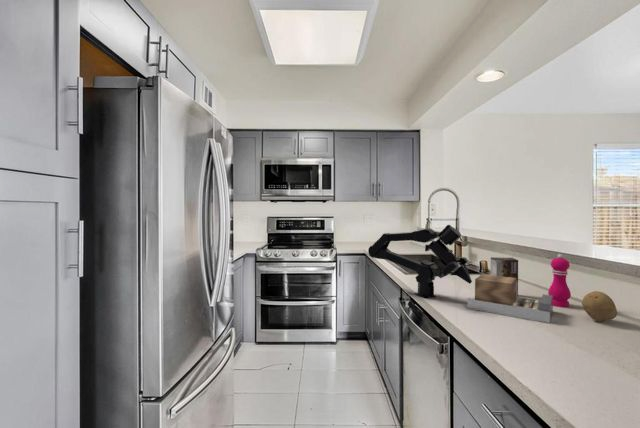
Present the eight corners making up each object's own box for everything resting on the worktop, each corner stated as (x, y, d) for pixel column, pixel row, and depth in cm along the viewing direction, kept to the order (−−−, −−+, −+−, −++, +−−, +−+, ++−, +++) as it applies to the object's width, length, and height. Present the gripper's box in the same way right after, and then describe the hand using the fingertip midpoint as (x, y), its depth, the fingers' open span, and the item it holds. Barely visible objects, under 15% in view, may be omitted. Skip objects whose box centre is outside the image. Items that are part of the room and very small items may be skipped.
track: (467, 308, 126) (467, 292, 126) (477, 299, 139) (478, 284, 139) (549, 323, 111) (550, 305, 110) (552, 311, 123) (553, 295, 123)
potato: (579, 314, 119) (579, 287, 119) (611, 319, 115) (612, 290, 115) (583, 322, 111) (584, 292, 111) (618, 327, 107) (619, 296, 107)
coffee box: (511, 293, 148) (512, 257, 148) (518, 297, 141) (519, 259, 141) (489, 293, 149) (490, 256, 148) (495, 297, 142) (496, 259, 142)
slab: (474, 300, 126) (475, 279, 126) (482, 293, 136) (482, 274, 136) (511, 306, 119) (511, 283, 119) (516, 298, 129) (516, 278, 128)
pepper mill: (550, 306, 130) (551, 254, 129) (545, 301, 136) (547, 252, 136) (573, 308, 127) (574, 255, 126) (567, 303, 134) (568, 253, 133)
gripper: (436, 262, 150) (462, 290, 144) (420, 268, 135) (448, 299, 129) (454, 245, 145) (482, 274, 139) (440, 250, 131) (470, 282, 124)
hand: (470, 282), depth 133 cm, fingers closed
